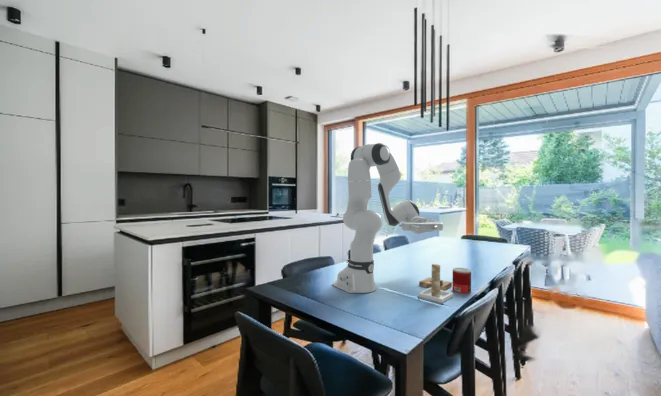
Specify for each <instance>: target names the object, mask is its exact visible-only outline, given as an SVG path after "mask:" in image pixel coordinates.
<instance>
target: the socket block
mask: <svg viewBox="0 0 661 396" xmlns="http://www.w3.org/2000/svg"><path fill="white" fill-rule="evenodd" d="M418 285H419V286H420V287H424V288H427V289H428V288H431V287H432V277H426V278H424V279H421V280H419V283H418ZM451 287H452V288H453V281H447V280H443V279H440V290H443V291H446V290H447V289H449V288H451Z"/></svg>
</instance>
